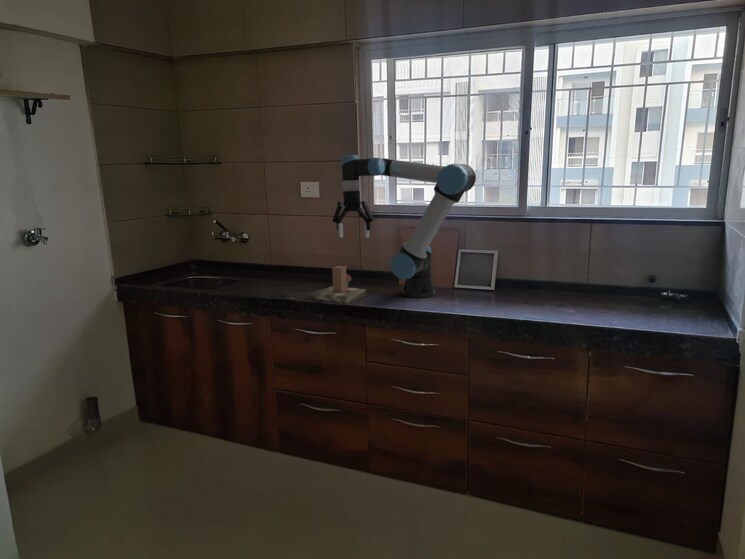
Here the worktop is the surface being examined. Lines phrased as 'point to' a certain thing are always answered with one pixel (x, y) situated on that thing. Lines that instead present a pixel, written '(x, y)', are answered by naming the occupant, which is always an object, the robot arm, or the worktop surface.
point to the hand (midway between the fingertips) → (354, 237)
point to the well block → (339, 295)
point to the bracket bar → (339, 279)
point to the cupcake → (347, 278)
